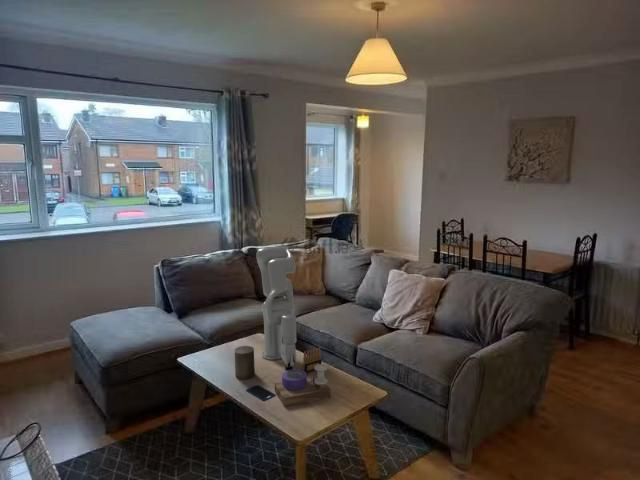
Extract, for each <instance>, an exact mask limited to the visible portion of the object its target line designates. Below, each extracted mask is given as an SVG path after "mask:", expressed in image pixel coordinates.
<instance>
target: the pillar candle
mask: <svg viewBox="0 0 640 480" xmlns="http://www.w3.org/2000/svg"><path fill="white" fill-rule="evenodd" d="M233 351H234V370H235V372H234V373H235V374H234V375H235V378H237V379H238V380H250V379H252V378H254V377H255V375H256V373H255V371H256V370H255V349H254V347H253V346H249V345H241V346H238V347H235V349H234V350H233Z"/></svg>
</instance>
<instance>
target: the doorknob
mask: <svg viewBox="0 0 640 480" xmlns="http://www.w3.org/2000/svg"><path fill="white" fill-rule="evenodd" d="M314 369H315V370H316V371H317V372H316V373H317V374H316V376H317V378H316V379H315V380H314V382H315V384H317V385H325V384H326V385H328V384H327V383H328V379H327V378H325V371H327V370H328V365H327V364H324V363H321V364H317V365H315V367H314Z"/></svg>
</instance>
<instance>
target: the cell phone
mask: <svg viewBox="0 0 640 480" xmlns="http://www.w3.org/2000/svg"><path fill="white" fill-rule="evenodd" d="M245 392H247V393H248V394H251V396H254V397H255V398H257V399H259V400H260V401H262V402H265V401H268V400H269V399H272V398H274V397H276V396H277V394H276V393H275V392H274V393H273V392H272V391H270V390H268V389H267V388H264V387H263V386H262V385H259V384H256V385H253V386H251V387H248V388H246V389H245Z"/></svg>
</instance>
